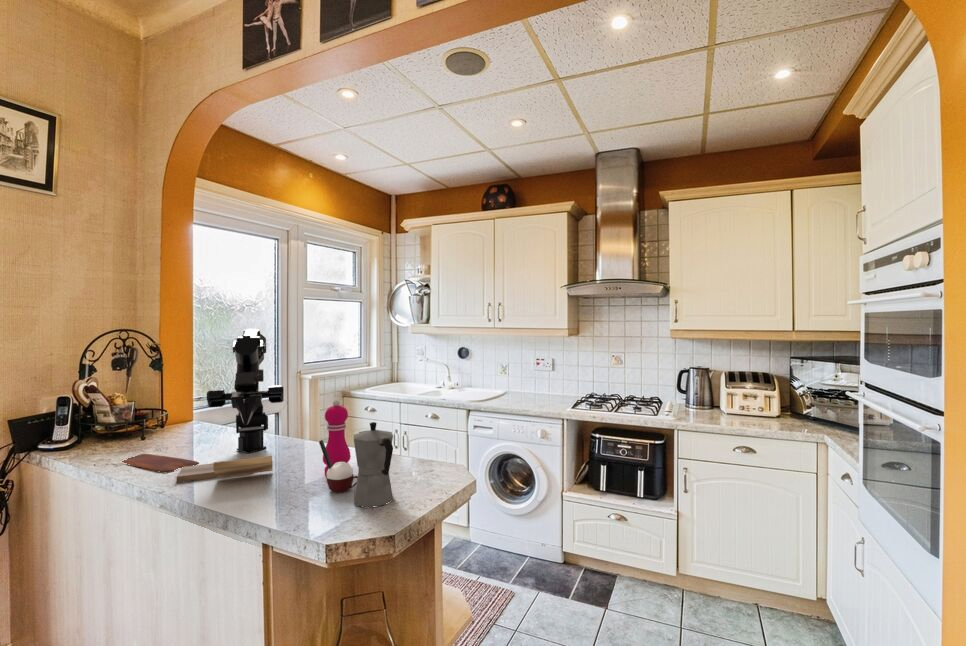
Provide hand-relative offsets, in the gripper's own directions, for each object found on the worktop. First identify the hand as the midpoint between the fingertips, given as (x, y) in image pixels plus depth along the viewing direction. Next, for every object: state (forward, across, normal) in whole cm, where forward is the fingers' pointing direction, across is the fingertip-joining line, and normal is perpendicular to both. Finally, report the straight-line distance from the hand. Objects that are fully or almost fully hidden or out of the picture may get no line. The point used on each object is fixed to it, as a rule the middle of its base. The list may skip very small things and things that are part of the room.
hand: (245, 424), depth 119 cm
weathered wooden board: (+8, -7, +13) cm, 17 cm away
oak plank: (+12, 0, +3) cm, 12 cm away
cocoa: (+24, +22, -9) cm, 34 cm away
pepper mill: (+16, +22, +1) cm, 28 cm away
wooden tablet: (-2, -25, +28) cm, 38 cm away
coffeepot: (+30, +28, -18) cm, 45 cm away
